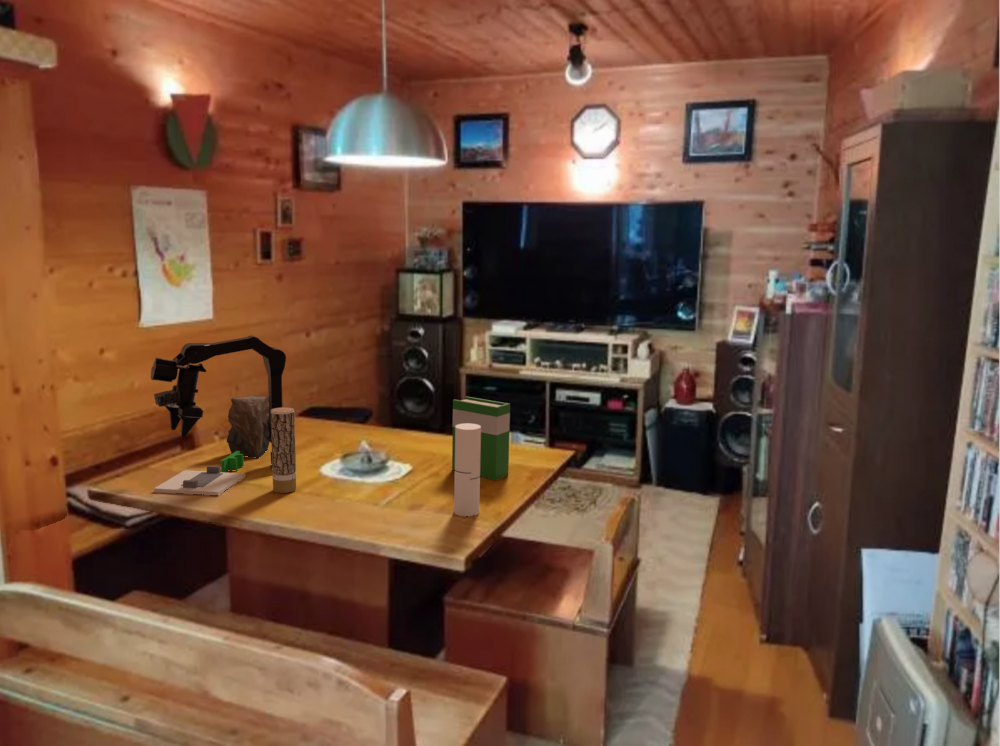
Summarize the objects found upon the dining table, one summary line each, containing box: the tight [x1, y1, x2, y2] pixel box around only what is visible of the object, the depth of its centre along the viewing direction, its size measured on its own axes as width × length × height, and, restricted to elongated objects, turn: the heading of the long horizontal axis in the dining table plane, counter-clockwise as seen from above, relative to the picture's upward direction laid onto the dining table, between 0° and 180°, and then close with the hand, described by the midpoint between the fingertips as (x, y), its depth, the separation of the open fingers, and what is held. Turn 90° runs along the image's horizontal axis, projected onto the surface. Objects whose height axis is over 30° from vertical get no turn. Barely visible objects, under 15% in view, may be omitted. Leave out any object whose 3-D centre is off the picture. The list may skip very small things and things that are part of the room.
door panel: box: [153, 465, 246, 496], centre depth 233 cm, size 20×18×3 cm
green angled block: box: [220, 451, 245, 473], centre depth 250 cm, size 11×4×5 cm, turn 173°
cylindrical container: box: [453, 423, 481, 517], centre depth 213 cm, size 7×7×25 cm
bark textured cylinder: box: [271, 406, 297, 494], centre depth 228 cm, size 7×7×25 cm
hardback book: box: [451, 396, 511, 481], centre depth 250 cm, size 18×7×24 cm, turn 56°
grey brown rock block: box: [226, 394, 270, 459], centre depth 267 cm, size 13×13×20 cm
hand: (177, 433), depth 235 cm, fingers open, 9 cm apart
